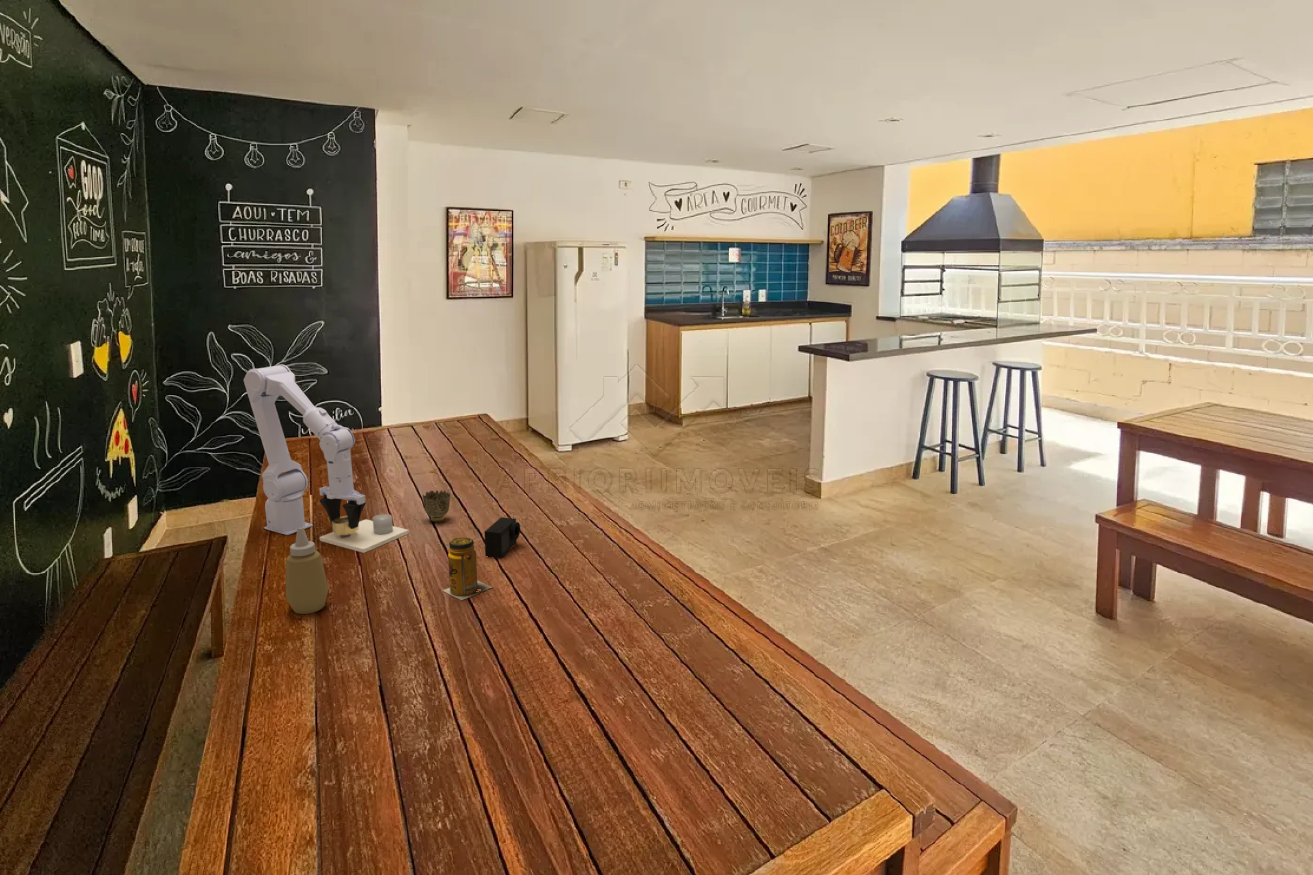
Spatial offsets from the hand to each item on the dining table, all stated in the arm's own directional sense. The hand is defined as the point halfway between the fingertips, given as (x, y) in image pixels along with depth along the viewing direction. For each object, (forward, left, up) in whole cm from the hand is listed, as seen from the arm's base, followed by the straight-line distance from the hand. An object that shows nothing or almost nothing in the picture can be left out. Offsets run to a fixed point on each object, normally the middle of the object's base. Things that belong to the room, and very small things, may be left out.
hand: (344, 525), depth 187 cm
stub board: (+3, +4, -4) cm, 6 cm away
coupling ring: (0, 0, -2) cm, 2 cm away
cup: (+11, +22, -4) cm, 25 cm away
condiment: (+47, -7, -4) cm, 48 cm away
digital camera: (+40, +15, -4) cm, 43 cm away
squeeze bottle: (+24, -30, -4) cm, 39 cm away
